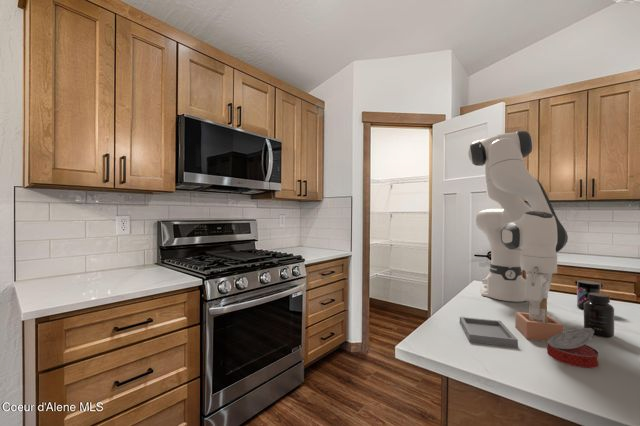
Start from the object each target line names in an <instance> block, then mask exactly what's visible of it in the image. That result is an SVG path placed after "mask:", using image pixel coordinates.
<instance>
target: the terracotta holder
mask: <svg viewBox="0 0 640 426" xmlns="http://www.w3.org/2000/svg"><path fill="white" fill-rule="evenodd" d="M514 314H515V317H514V318H515V324H514V325H515V326H514V327H515V329H516V330H517V331H518V332H519V333H520V334H521V335H522V336H523V337H524V338H525V339H526V340H532V339H533V340H532V341H542V342H547V341H548V339H550V338H551V337H552V336H554V335H556V334H558V333H562V332H564V324H562V323H561V322H559V321H558V320H557V319H556V318H554V317H552V316H551V315H549V314H547V323H546V322H536V321H529V312H522V311H521V312H520V311H515V313H514Z"/></svg>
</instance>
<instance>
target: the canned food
mask: <svg viewBox="0 0 640 426" xmlns="http://www.w3.org/2000/svg"><path fill="white" fill-rule="evenodd" d="M593 333H594V330H593V329H592V328H584V327H582V328H574V329H571V330H565V331H563V332H562V333H558V334H556V335H554V336H552V337H551V338H550V339H548V341H546V342H547V343H546V344H547V346H546V347H547V348H546V353H547V355H548V356H549V357H550V358H552V359H554V360H556V361H558V362H560V363H564V364H566V365H569V366H572V367H577V368H584V369H593V368H598V366H599V352H598V350H597V349H595V348H594V347H592V346H590V345H588V342H590V340H592V336H594V335H593Z"/></svg>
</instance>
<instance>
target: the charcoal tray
mask: <svg viewBox="0 0 640 426" xmlns="http://www.w3.org/2000/svg"><path fill="white" fill-rule="evenodd" d="M459 324H460V326H461V329H462V330H463V332H464V335H465V336H466V338H467V340H468V341H469V342H472V343H479V344H486V345H487V344H488V345H497V346H505V347H513V348H518V347H519V341H518V340H519V339H518V338H517V337H516V336H515V335H514V334H513V333H512V332H511V331H510V329H509V328H508V327H506V325H505V324H504V323H503V322H502V321H501V320H496V319H495V320H494V319H485V318H478V317H477V318H475V317H467V316H459Z"/></svg>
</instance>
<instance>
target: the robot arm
mask: <svg viewBox="0 0 640 426" xmlns="http://www.w3.org/2000/svg"><path fill="white" fill-rule="evenodd" d="M533 147H534V140H533V137H532V136H531V134H530V133H529V132H528V131H527V130H516V131H515V132H514V131H513V132H506V133H500V134H497V135H494V136H490V137H486V138H483V139H478V140H476V141H473V142H471V144H470V145H469V148H468V152H467V154H468V159H469V160H470V162H471V163H472V165H474V166H476V167H477V166H481V167H484V165H485V167H484V169H485V170H484V171H485V173H484V174H485V180H486V181H485V182H486V189H487V195H488V197H489V199H490V200H492V201H493V202H496V203H498V204H499V205H500V207H501V208H488V209H483V210H480V211H479V212H478V213H477V214H476V217H475V224H476V226H477V228H478V229H479V230H480V231H481V232H482V233H483V234H484V235H485V236H486V238H487V240H488V243H489V245H490V246H489V247H490V253H491V254H490V258H491V260H490V261H491V262H490V264H489V272H488V275H487V276H486V277H485V278H482V285H484V286H480V294H481V296H483V297H487V298H491V299H495V300H498V301H499V300H500V301H505V302H513V303H514V302H517V303H519V302H525V301H527V302H529V303H530V302H531V307H532V314H535V315H539V314H540V303H541V301H542V300H543V298H544V297H545V292H546V291H547V292H548V293H549V292H550V289H551V285H552V277H553V274H557V273H558V253H559V252H560V251H561V250H562V249H563V248H565V246H567V243H568V239H569V237H568V231H567V230H566V229H565V227H564V226H563V224H562V223H561V222H560V220H559V218H558V217H557V216H558V215H556V212H555V209H554V207H553V205H552V203H551V201H550V199H549V197H548V194H547V193H546V191H545V188H544V186H543V184H542V183H541V182H540V181H539V180H538V179H537V178H535V177H534V176H533V175H532V174H531V173H530V171H529V170H528V168H527V166H526V163H525V160H524V158H526V157H528V156H529V155H530V154H531V153H532V151H533ZM524 200H525V201H526V202H527V203H528V204H529V205H528V204H527V203H526V202H525V201H524ZM523 271H525V278H524V277H523V276H522V275H523Z"/></svg>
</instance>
